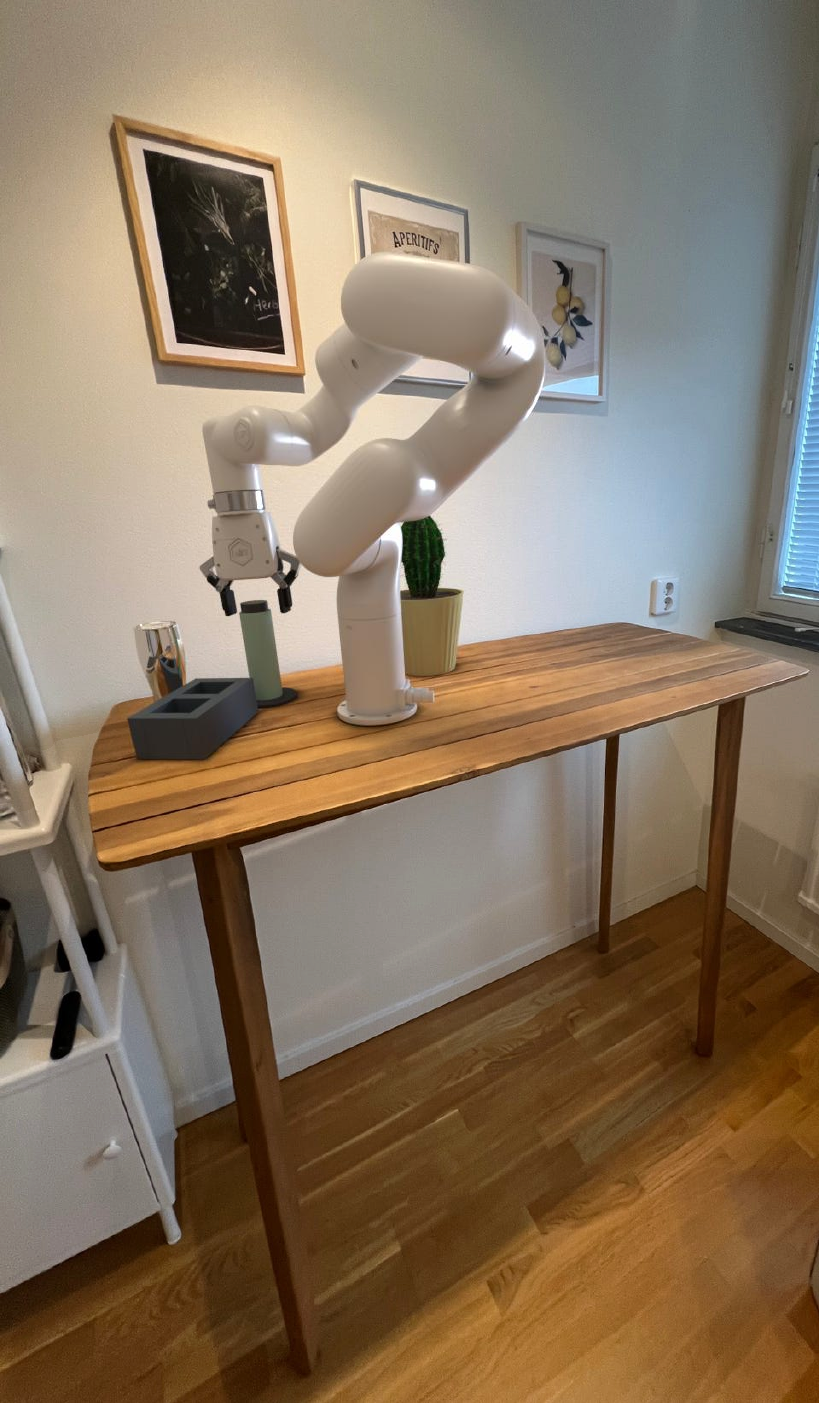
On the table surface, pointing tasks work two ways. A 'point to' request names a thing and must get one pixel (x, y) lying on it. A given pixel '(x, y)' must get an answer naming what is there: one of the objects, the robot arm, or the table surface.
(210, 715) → the holder
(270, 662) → the bottle
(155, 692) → the chrome tumbler
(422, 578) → the potted cactus
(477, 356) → the robot arm
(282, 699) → the coaster
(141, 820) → the table surface
